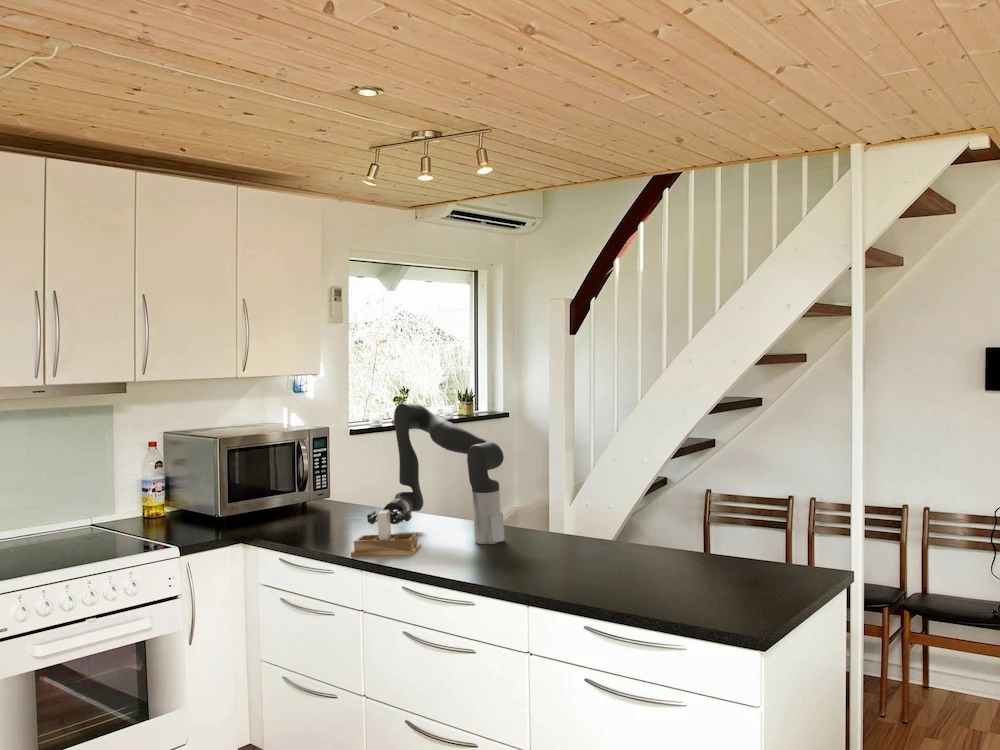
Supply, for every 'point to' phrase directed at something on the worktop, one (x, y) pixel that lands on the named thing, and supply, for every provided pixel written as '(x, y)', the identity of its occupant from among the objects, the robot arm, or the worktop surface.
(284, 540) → the worktop surface
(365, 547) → the wooden compartment tray
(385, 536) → the pale wooden block
